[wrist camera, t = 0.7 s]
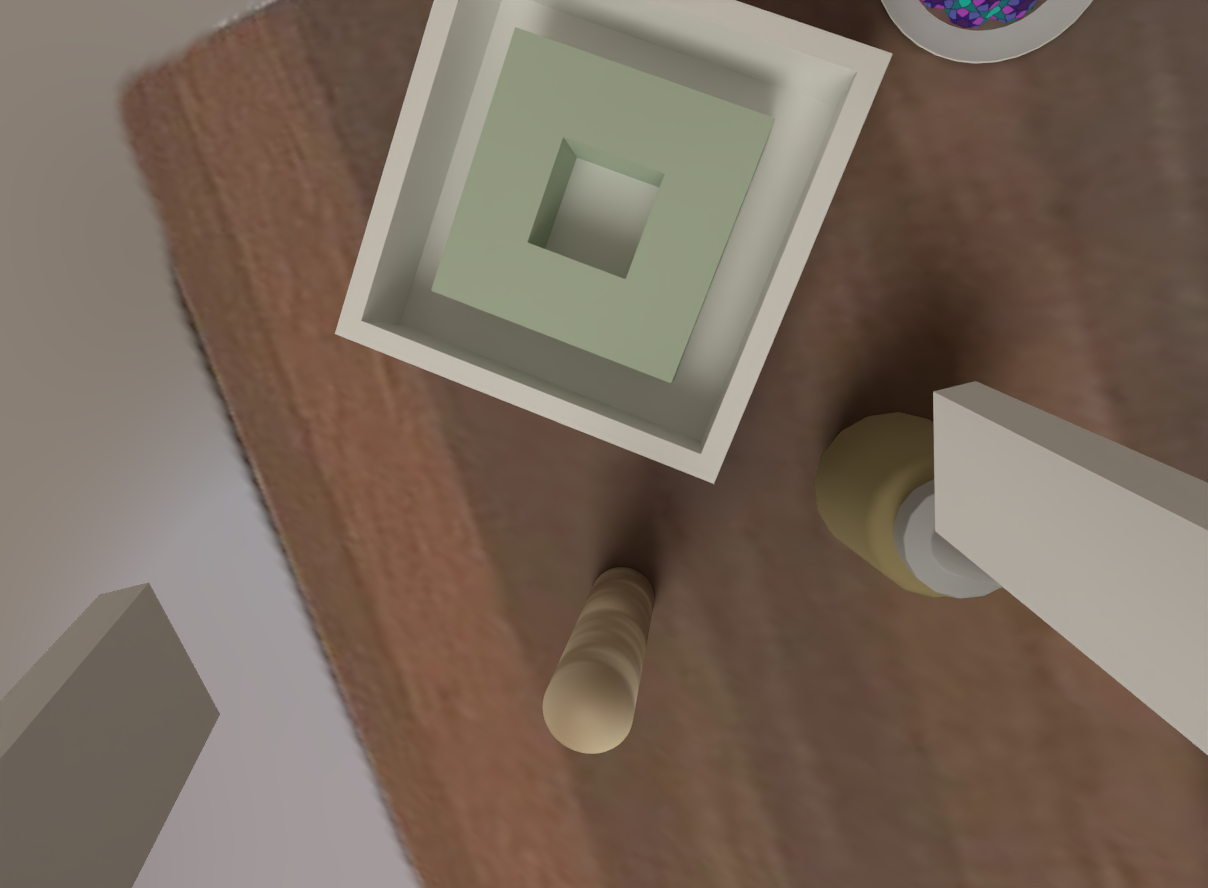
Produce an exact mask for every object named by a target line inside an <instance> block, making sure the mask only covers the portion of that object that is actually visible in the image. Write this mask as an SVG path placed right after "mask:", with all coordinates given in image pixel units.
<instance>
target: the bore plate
mask: <svg viewBox="0 0 1208 888" xmlns="http://www.w3.org/2000/svg"><path fill="white" fill-rule="evenodd" d="M774 120H775V118H773V117H770V116H767V115H765V114H762V113H759V112H756V111H753V110H750V109H748V108H745V107H742V106H739V105H736V104H733V103H730V102H728V101H725V100H722V99H719V98H716V97H713V96H711V95H708V94H705V93H702V92H699V91H696V90H693V89H691V88H688V87H685V86H682V85H679V84H676V83H673V82H671V81H668V80H665V79H662V78H659V77H656V76H654V75H651V74H648V73H645V72H642V71H639V70H636V69H634V68H631V67H628V66H625V65H622V64H619V63H616V62H614V61H611V60H608V59H605V58H602V57H599V56H597V55H594V54H591V53H588V52H585V51H582V50H579V49H577V48H574V47H571V46H568V45H565V44H562V43H560V42H557V41H554V40H551V39H548V38H545V37H542V36H540V35H537V34H534V33H531V32H528V31H525V30H522V29H520V28H517V27H515V29H514V32H513V35H512V38H511V42H510V45H509V48H508V51H507V54H506V57H505V60H504V64H503V67H502V70H501V73H500V76H499V79H498V82H497V85H496V89H495V92H494V95H493V98H492V101H491V104H490V107H489V111H488V114H487V117H486V120H485V123H484V126H483V129H482V132H481V136H480V139H479V142H478V145H477V148H476V151H475V154H474V157H473V161H472V164H471V167H470V170H469V173H468V176H467V179H466V183H465V186H464V189H463V192H462V195H461V198H460V201H459V204H458V208H457V211H456V214H455V217H454V220H453V223H452V226H451V230H450V233H449V236H448V239H447V242H446V245H445V248H444V251H443V255H442V258H441V261H440V264H439V267H438V270H437V273H436V276H435V280H434V283H433V286H432V289H431V291H433V292H436V293H438V294H441V295H444V296H446V297H449V298H451V299H454V300H457V301H459V302H462V303H464V304H467V305H469V306H472V307H475V308H477V309H480V310H482V311H485V312H488V313H490V314H493V315H495V316H498V317H501V318H503V319H506V320H508V321H511V322H513V323H516V324H519V325H521V326H524V327H526V328H529V329H532V330H534V331H537V332H539V333H542V334H545V335H547V336H550V337H552V338H555V339H557V340H560V341H563V342H565V343H568V344H570V345H573V346H576V347H578V348H581V349H583V350H586V351H589V352H591V353H594V354H596V355H599V356H601V357H604V358H607V359H609V360H612V361H614V362H617V363H620V364H622V365H625V366H627V367H630V368H633V369H635V370H638V371H640V372H643V373H645V374H648V375H651V376H653V377H656V378H658V379H661V380H664V381H666V382H669V383H672V382H673V380H674V378H675V376H676V373H677V371H678V368H679V366H680V363H681V360H682V358H683V355H684V353H685V350H686V348H687V345H688V343H689V340H690V338H691V335H692V333H693V330H694V327H695V325H696V322H697V320H698V317H699V315H700V312H701V310H702V307H703V305H704V302H705V299H706V297H707V294H708V292H709V289H710V287H711V284H712V282H713V279H714V277H715V274H716V271H717V269H718V266H719V264H720V261H721V259H722V256H723V254H724V251H725V249H726V246H727V243H728V241H729V238H730V236H731V233H732V231H733V228H734V226H735V223H736V221H737V218H738V215H739V213H740V210H741V208H742V205H743V203H744V200H745V198H746V195H747V193H748V190H749V187H750V185H751V182H752V180H753V177H754V175H755V172H756V170H757V167H758V165H759V162H760V160H761V157H762V154H763V152H764V149H765V147H766V144H767V142H768V139H769V136H770V133H771V130H772V127H773V124H774ZM576 158H580V159H582V160H585V161H588V162H591V163H593V164H596V165H599V166H602V167H604V168H607V169H610V170H612V171H615V172H618V173H621V174H623V175H626V176H629V177H632V178H634V179H637V180H640V181H643V182H645V183H648V184H651V185H654V186H656V187H659V190H658V193H657V196H656V199H655V201H654V204H653V207H652V209H651V212H650V215H649V217H648V220H647V223H646V226H645V228H644V231H643V234H642V236H641V239H640V242H639V245H638V247H637V250H636V253H635V255H634V258H633V261H632V263H631V266H630V269H629V272H628V274H627V277H626V279H623V278H621V277H618V276H615V275H613V274H610V273H607V272H605V271H602V270H599V269H597V268H594V267H591V266H589V265H586V264H583V263H581V262H578V261H575V260H573V259H570V258H567V257H565V256H562V255H559V254H557V253H554V252H552V251H549V250H546V249H545V248H546V245H547V242H548V239H549V236H550V233H551V230H552V228H553V225H554V222H555V219H556V216H557V213H558V210H559V207H560V204H561V202H562V199H563V196H564V193H565V190H566V187H567V184H568V181H569V178H570V176H571V173H572V170H573V167H574V164H575V161H576Z"/></svg>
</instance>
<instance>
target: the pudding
mask: <svg viewBox="0 0 1208 888" xmlns="http://www.w3.org/2000/svg"><path fill="white" fill-rule="evenodd" d="M922 1H923V2H924V3H925V4H926V5H927V6H928V7H929V8H944V9H945V10H946V13H947V15H948V17H949V19H950V21H951V22H952V23H954V24H957V25H959V26H961V27H963V28H969V27H979V26H980V25H982V24H983V23H985V22H986V21H988V20H989V19H991V18H993V19H996V20H999V21H1002V22H1004V23H1007V22H1010V21H1014V20H1017V19H1020V18H1021V17H1023V16H1024V15H1025V14H1027V13H1028V12H1029V11H1030V10H1032V9H1033V7H1034V5H1035V3H1036V1H1037V0H922ZM1092 1H1093V0H1047V1H1046V2H1045V3H1044V4H1042V5H1041V6H1040V7H1039V8H1038V9H1037V10H1036V11H1034V12H1033V13H1031V14H1030V15H1028V16H1027V17H1025V18H1023V19H1022V20H1020V21H1018V22H1015V23H1013V24H1011V25H1008V26H1006V27H1002V28H998V29H993V30H983V31H973V30H964V29H960V28H957V27H954V26H950V25H948V24H946V23H944V22H942V21H941V20H939V19H937V18H936V17H935V16H933V15H932V14H931V13H930V12H929V11H927V10H926V8H925V7H924V6H923V5H922V4H921V2H920V1H919V0H881V2H882V3H883V5H884V7H885V9H886V11H887V13H888V14H889V16H890V18H891V19H892V21H893V22H894V23H895V24H896V25H897V27H898V28H899V29H900V30H901V32H902V33H903V34H904V35H906V36H907V37H908V38H909V39H910V40H912V41H913V42H914V43H915V44H917V45H918V46H919V47H921V48H923V49H925V50H927V51H929V52H931V53H933V54H934V55H937V56H940V57H943V58H946V59H950V60H953V61H958V62H967V63H990V62H999V61H1003V60H1007V59H1011V58H1016V57H1019V56H1021V55H1024V54H1026V53H1028V52H1031V51H1033V50H1035V49H1038V48H1040V47H1041V46H1043V45H1044V44H1046V43H1048V42H1049V41H1051V40H1053V39H1054V38H1056V37H1057V36H1059V35H1060V34H1061V33H1062V32H1063V31H1064V30H1066V29H1067V28H1068V27H1069V26H1070V25H1072V24H1073V23H1074V22H1075V21H1076V20H1077V19H1078V18H1079V16H1080V15H1081V14H1082V13H1083V12H1084V11H1085V9H1086V8H1087V7H1088V6H1089V5H1090V4H1091V2H1092Z"/></svg>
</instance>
